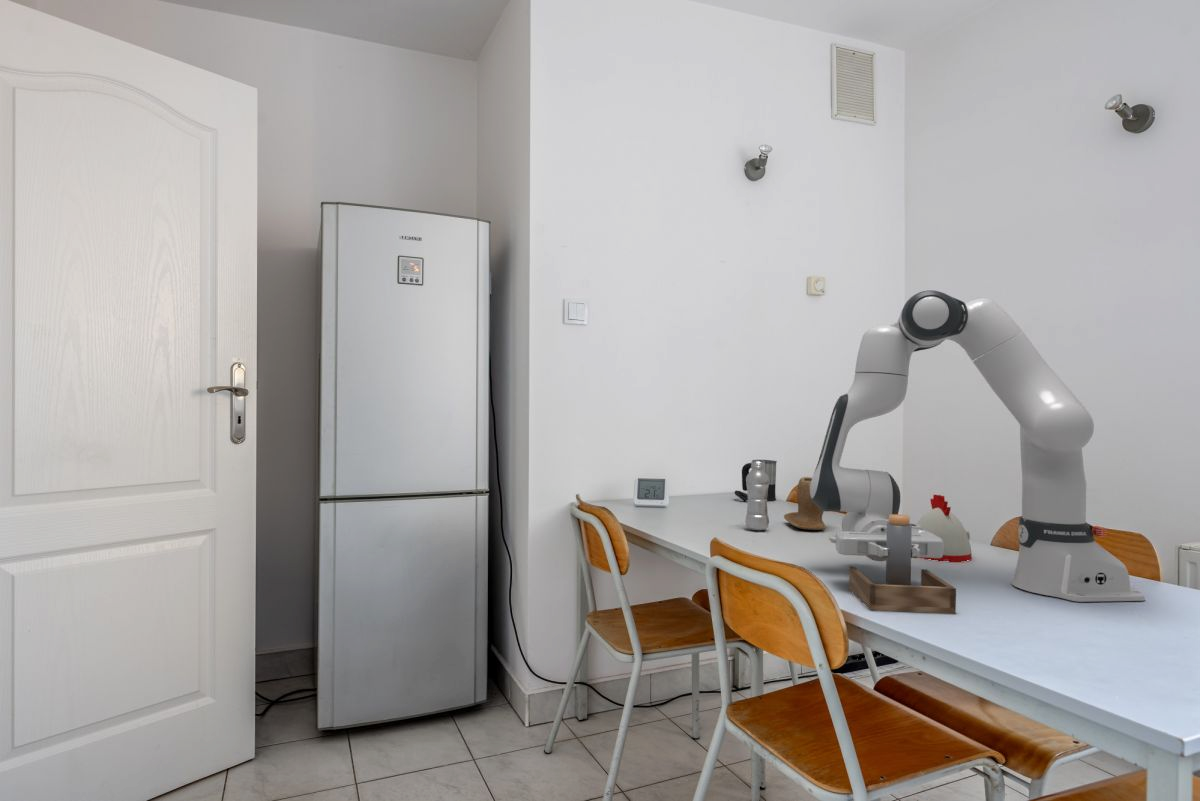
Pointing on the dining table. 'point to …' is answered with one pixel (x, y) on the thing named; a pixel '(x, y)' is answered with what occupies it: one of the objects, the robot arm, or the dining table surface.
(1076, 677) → the dining table surface
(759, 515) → the plastic bottle
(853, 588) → the box
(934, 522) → the kitchen timer
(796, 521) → the brown flared piece
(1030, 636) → the dining table surface
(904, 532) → the grey bottle with cap
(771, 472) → the milk frother
